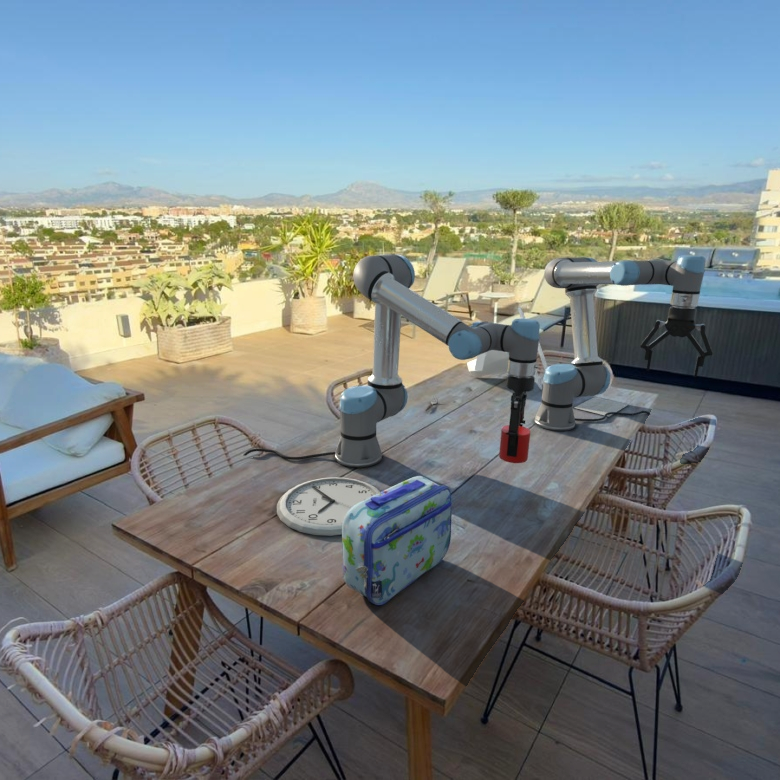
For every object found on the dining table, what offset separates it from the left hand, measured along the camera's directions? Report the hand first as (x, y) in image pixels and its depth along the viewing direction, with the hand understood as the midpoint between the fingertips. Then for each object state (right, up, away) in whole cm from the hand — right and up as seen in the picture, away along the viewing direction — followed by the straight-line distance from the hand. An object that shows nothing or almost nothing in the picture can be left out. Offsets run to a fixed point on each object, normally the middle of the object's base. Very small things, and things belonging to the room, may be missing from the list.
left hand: (513, 449), depth 153 cm
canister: (0, -2, +1) cm, 2 cm away
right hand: (+54, +23, +16) cm, 61 cm away
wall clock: (-52, -14, -10) cm, 55 cm away
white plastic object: (+21, +21, +105) cm, 109 cm away
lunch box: (-34, -23, -39) cm, 57 cm away
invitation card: (+55, +10, +74) cm, 93 cm away
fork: (-19, +10, +70) cm, 73 cm away
